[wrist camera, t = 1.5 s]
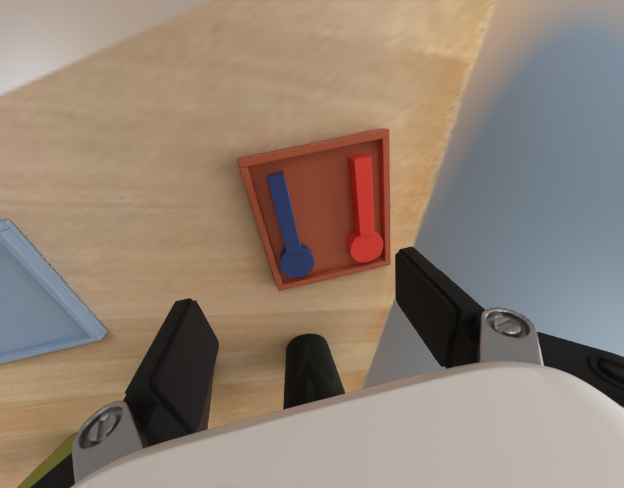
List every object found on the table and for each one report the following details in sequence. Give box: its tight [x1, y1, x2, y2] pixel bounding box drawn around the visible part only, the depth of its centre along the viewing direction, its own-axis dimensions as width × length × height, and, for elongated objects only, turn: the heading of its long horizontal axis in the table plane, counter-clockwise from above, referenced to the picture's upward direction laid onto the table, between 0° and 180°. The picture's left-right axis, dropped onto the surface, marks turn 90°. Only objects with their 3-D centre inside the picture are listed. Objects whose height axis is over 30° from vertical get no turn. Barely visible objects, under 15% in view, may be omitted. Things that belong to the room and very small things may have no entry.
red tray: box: [237, 129, 391, 291], centre depth 22 cm, size 13×12×1 cm
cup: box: [283, 334, 345, 410], centre depth 26 cm, size 8×8×12 cm
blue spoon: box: [267, 171, 315, 278], centre depth 21 cm, size 10×3×2 cm, turn 10°
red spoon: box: [347, 154, 383, 263], centre depth 22 cm, size 10×3×2 cm, turn 10°
